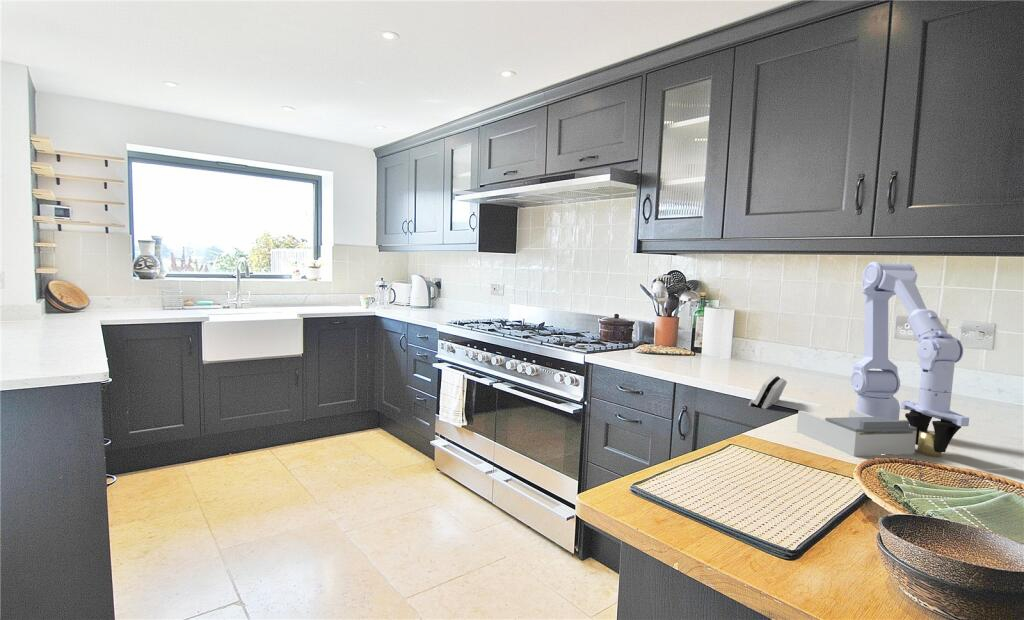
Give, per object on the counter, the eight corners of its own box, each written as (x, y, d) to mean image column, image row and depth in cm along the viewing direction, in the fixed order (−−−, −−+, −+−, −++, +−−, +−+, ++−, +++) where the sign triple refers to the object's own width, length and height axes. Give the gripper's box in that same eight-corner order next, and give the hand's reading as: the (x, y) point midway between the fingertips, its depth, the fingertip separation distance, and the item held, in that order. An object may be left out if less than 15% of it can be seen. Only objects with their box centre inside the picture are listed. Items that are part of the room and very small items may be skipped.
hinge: (762, 396, 176) (775, 369, 173) (776, 404, 173) (790, 377, 170) (747, 405, 163) (761, 377, 160) (763, 413, 160) (777, 384, 157)
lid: (882, 419, 131) (883, 410, 130) (916, 430, 122) (917, 421, 122) (825, 420, 128) (826, 411, 127) (855, 431, 119) (856, 422, 119)
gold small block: (927, 450, 126) (930, 429, 125) (946, 457, 121) (948, 435, 121) (912, 451, 125) (914, 430, 124) (930, 457, 120) (932, 436, 120)
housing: (850, 430, 140) (852, 409, 139) (914, 454, 122) (916, 430, 122) (796, 432, 137) (798, 410, 136) (853, 456, 119) (855, 432, 119)
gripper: (892, 382, 128) (887, 438, 129) (952, 397, 114) (945, 459, 115) (917, 382, 130) (911, 437, 131) (979, 397, 115) (972, 458, 116)
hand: (929, 448), depth 123 cm, fingers closed on gold small block, 4 cm apart
